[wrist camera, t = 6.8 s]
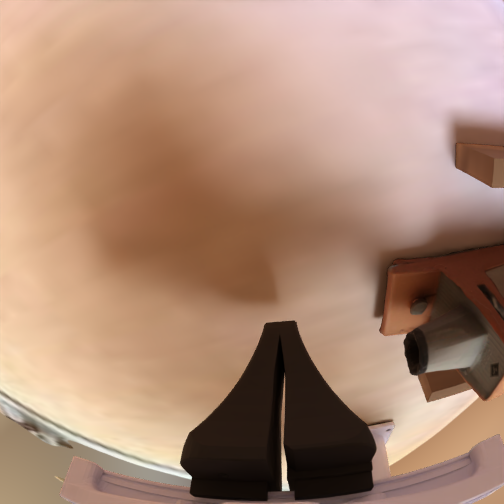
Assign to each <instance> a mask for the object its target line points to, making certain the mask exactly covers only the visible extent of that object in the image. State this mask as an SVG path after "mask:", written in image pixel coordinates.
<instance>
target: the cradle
mask: <svg viewBox="0 0 504 504" xmlns="http://www.w3.org/2000/svg"><path fill="white" fill-rule="evenodd" d="M456 168H457V169H459V170H461V171H463V172H465V173H467V174H469V175H470V176H472V177H474V178H476V179H478V180H479V181H481V182H483V183H485V184H486V185H488V186H490V187H492V188H504V146H494V145H481V144H465V143H456ZM418 378H419V381H420V383H421V386H422V389H423V392H424V394H425V397H426V400H427V402H431V401H434V400H438V399H441V398H445V397H448V396H451V395H455V394H458V393H461V392H464V391H467V390H470V389H472V387H471V386H469V385H468V384H467V382H466V381H465V380H464V379H463V377H462V376H461V375H460V374H459V372H458V371H456V370H455V369H450V370H441V371H433V372H426V373H423V374H420V375H418Z"/></svg>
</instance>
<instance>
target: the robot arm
mask: <svg viewBox="0 0 504 504" xmlns="http://www.w3.org/2000/svg"><path fill="white" fill-rule="evenodd" d="M284 374H285V424H284V443H283V444H284V449H285V455H286V461H287V481H288V484H289V489H290V491H282V468H281V410H282V399H283V387H284ZM394 427H395V424H394V422H387V423H382V424H377V425H372V426H367V424H366V423H365V422H364V421H362V420H361V419H360V418H359V417H358V416H357V415H355V414H354V413H353V412H352V411H351V410H350V409H349V408H348V407H347V406H346V405H345V404H344V403H343V402H342V401H341V399H340V398H339V397H338V396H337V395H336V394H335V393H334V392H333V390H332V389H331V388H330V387H329V385H328V384H327V383H326V381H325V380H324V379H323V377H322V376H321V374H320V373H319V371H318V370H317V368H316V366H315V365H314V363H313V361H312V360H311V358H310V356H309V354H308V352H307V350H306V348H305V346H304V344H303V342H302V339H301V337H300V334H299V331H298V327H297V322H295V321H282V322H270V323H266V324H265V325H264V329H263V332H262V335H261V338H260V341H259V343H258V346H257V348H256V350H255V352H254V354H253V356H252V358H251V360H250V362H249V364H248V366H247V368H246V369H245V371H244V373H243V375H242V376H241V378H240V379H239V381H238V382H237V384H236V385H235V387H234V388H233V389H232V391H231V392H230V393H229V394H228V396H227V397H226V398H225V399H224V401H223V402H222V403H221V404H220V405H219V406H218V407H217V408H216V409H215V410H214V411H213V412H212V413H211V414H210V415H209V416H208V417H207V418H206V419H205V420H204V421H203V422H202V423H201V424H199V425H198V426H197V427H196V428H195V429H194V430H192V431H191V432H190V433H189V435H188V437H187V439H186V442H185V444H184V447H183V451H182V456H181V461H180V464H181V466H182V467H183V468H184V469H185V470H186V471H187V472H188V473H189V474H190V475H191V476H192V481H191V487H183V486H177V485H170V484H164V483H158V482H153V481H147V480H143V479H139V478H134V477H129V476H125V475H122V474H118V473H114V472H110V471H107V470H103V468H101V467H100V466H99V465H98V464H96V463H94V462H91V461H89V460H86V459H83V458H79V457H77V456H74V457H73V459H72V461H71V464H70V467H69V469H68V472H67V475H66V477H65V480H64V483H63V486H62V489H61V491H60V494H59V495H60V497H62V498H64V499H65V500H68V501H69V502H71V503H73V504H472V503H474V502H476V501H478V500H480V499H482V498H484V497H486V496H488V495H490V494H491V493H493V492H494V491H496V490H497V489H499V488H500V487H502V486H503V485H504V445H503V442H502V440H501V437H500V435H499V434H497V435H495V436H493V437H491V438H489V439H486V440H484V441H482V442H480V443H478V444H477V445H475V446H474V447H473V448H472V449H471V450H470V451H469V452H468V453H466V454H463V455H461V456H458V457H456V458H453V459H450V460H447V461H444V462H441V463H438V464H436V465H432V466H429V467H426V468H423V469H419V470H416V471H412V472H409V473H405V474H401V475H397V476H393V477H391V474H390V469H389V463H388V457H387V452H386V447H385V445H386V443H387V441H388V439H389V437H390V435H391V433H392V431H393V429H394Z"/></svg>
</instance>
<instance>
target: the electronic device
mask: <svg viewBox="0 0 504 504" xmlns="http://www.w3.org/2000/svg"><path fill="white" fill-rule="evenodd" d="M387 276H388V281H387V289H386V296H385V305H384V312H383V319H382V324H381V327H380V329H379V331H380V333H382V334H383V335H384V336H390V335H398V334H407V335H406V338H405V340H404V346H405V356H406V359H407V362H408V367H409V370H410V373H411V374H412V375H416V376H417V375H420V374H423V373H426V372H433V371H441V370H450V369H455V370H456V371H458V372H459V374H460V375H461V376H462V377H463V379H464V380H465V381H466V382H467V384H468V385H469V386H471V387H472V389H473V390H474V391H475V392H476V393H477V394H478V396H479V397H480V398H481V399H482V400H483V401H490V400H491V399H493V398H495V397H499V396H500V395H501V394H503V393H504V244H503V245H499V246H494V247H485V248H479V249H470V250H466V251H462V252H456V253H454V252H453V253H450V254H448V255H445V256H441V257H435V258H433V257H427V258H415V259H410V260H405V259H396V260H394V262H393V266H390V267H389V268H388V270H387Z"/></svg>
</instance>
